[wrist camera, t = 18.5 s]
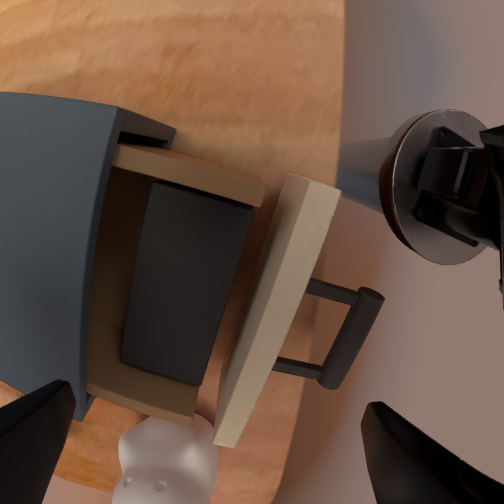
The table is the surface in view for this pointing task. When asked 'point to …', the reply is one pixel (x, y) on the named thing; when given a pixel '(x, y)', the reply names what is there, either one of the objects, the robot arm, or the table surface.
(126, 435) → the figurine
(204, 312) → the black rectangular block
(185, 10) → the table surface
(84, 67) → the table surface
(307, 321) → the table surface
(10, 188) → the cabinet
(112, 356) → the drawer
